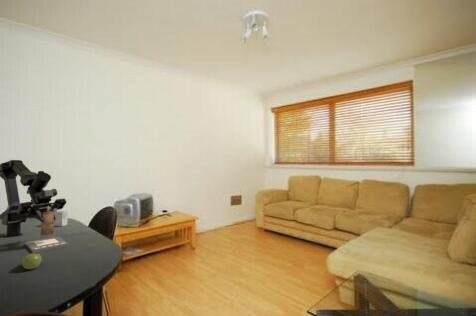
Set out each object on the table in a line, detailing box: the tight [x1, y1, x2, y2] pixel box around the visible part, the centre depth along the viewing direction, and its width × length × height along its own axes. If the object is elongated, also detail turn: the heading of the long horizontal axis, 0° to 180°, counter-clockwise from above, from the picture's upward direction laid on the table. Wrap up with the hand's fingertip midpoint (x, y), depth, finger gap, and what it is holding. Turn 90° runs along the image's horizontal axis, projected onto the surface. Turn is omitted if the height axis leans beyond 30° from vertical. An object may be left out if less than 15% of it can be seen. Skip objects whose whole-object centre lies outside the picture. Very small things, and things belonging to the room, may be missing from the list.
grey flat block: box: [25, 236, 69, 254], centre depth 119 cm, size 16×13×1 cm
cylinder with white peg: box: [40, 206, 55, 236], centre depth 120 cm, size 5×5×13 cm
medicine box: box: [54, 210, 68, 227], centre depth 157 cm, size 8×4×9 cm, turn 84°
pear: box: [21, 253, 42, 270], centre depth 96 cm, size 6×5×10 cm
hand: (49, 220), depth 119 cm, fingers closed on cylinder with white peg, 5 cm apart
